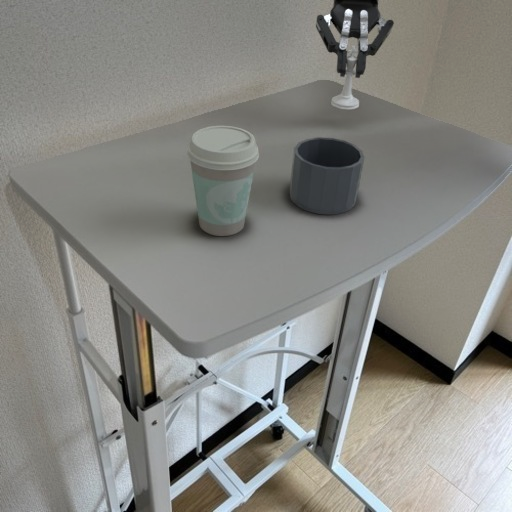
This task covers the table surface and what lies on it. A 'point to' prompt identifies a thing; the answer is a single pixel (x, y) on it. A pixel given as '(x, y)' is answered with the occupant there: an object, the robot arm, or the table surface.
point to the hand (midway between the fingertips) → (350, 74)
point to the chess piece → (347, 85)
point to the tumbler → (325, 175)
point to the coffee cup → (222, 176)
